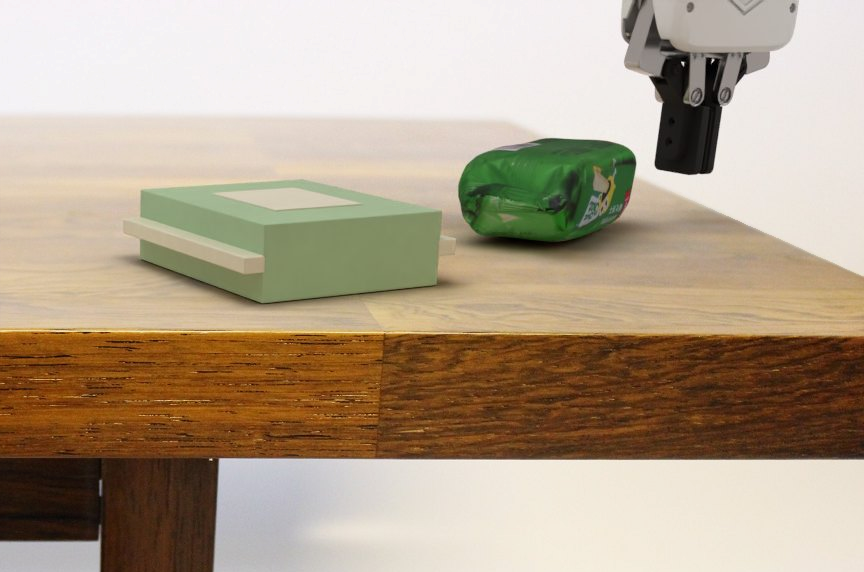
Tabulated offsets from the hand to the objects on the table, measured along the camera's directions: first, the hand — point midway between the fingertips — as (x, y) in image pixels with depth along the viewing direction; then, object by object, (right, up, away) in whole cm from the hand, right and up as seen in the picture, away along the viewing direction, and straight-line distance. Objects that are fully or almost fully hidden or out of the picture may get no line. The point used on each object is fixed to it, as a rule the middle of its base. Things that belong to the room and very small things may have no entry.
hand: (682, 171), depth 90 cm
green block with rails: (-26, -8, -15) cm, 31 cm away
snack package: (-9, -5, -4) cm, 11 cm away
